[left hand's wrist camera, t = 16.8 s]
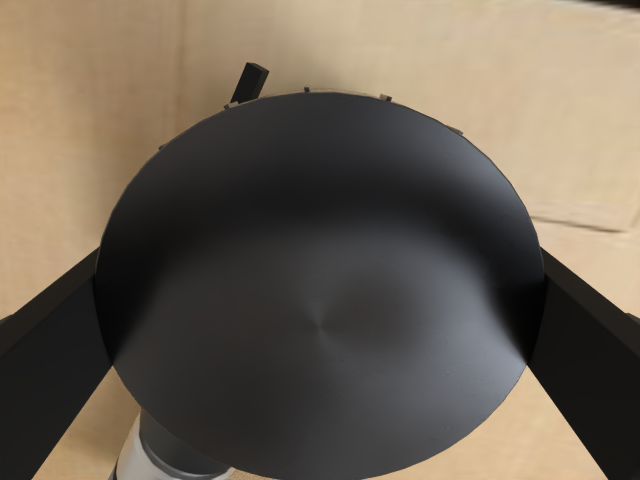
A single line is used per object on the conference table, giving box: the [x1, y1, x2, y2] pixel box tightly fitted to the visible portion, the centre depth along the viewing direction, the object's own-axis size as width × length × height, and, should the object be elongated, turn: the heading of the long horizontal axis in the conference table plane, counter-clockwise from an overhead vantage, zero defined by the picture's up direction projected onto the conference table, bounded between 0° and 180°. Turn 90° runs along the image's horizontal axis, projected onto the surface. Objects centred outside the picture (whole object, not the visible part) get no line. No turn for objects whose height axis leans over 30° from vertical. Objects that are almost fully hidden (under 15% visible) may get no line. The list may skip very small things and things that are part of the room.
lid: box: [94, 86, 545, 480], centre depth 11 cm, size 11×11×2 cm
